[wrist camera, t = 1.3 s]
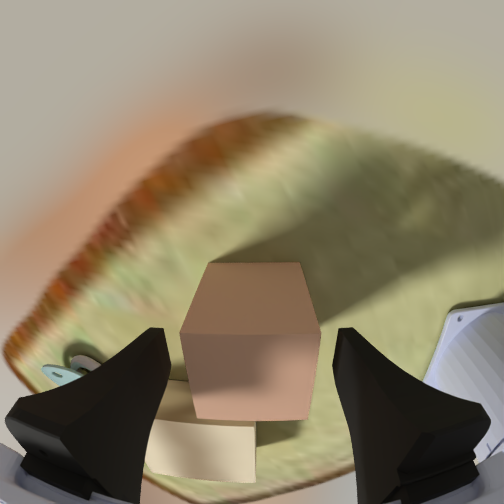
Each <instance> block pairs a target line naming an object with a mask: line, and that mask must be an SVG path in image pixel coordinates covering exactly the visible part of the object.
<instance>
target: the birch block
mask: <svg viewBox="0 0 504 504" xmlns="http://www.w3.org/2000/svg"><path fill="white" fill-rule="evenodd" d="M145 462H146V463H147V465H148V467H149V468H150V470H151V472H152V473H158V474H163V475H169V476H176V477H183V478H191V479H199V480H209V481H222V482H243V483H256V421H235V420H214V419H200V418H197V416H196V411H195V407H194V403H193V398H192V394H191V389H190V385H189V381H177V380H168V383H167V387H166V389H165V392H164V395H163V398H162V400H161V403H160V406H159V408H158V411H157V414H156V417H155V419H154V422H153V425H152V428H151V432H150V436H149V440H148V445H147V450H146V456H145Z"/></svg>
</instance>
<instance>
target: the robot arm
mask: <svg viewBox="0 0 504 504" xmlns="http://www.w3.org/2000/svg"><path fill="white" fill-rule="evenodd" d="M459 316H460V317H459ZM458 317H459V318H458ZM332 367H333V374H334V379H335V385H336V388H337V392H338V395H339V398H340V401H341V405H342V408H343V411H344V414H345V417H346V421H347V424H348V427H349V431H350V436H351V442H352V448H353V455H354V463H355V471H356V482H357V497H358V504H504V302H503V303H497V304H490V305H484V306H477V307H470V308H463V309H455V310H452V311H451V312H449V314H448V315H447V318H446V321H445V324H444V327H443V330H442V333H441V336H440V339H439V342H438V344H437V347H436V350H435V352H434V355H433V358H432V360H431V363H430V365H429V368H428V370H427V373H426V375H425V377H424V380H423V382H422V381H420V380H418V379H416V378H415V377H413V376H412V375H410V374H408V373H407V372H405V371H404V370H402V369H401V368H399V367H398V366H397V365H395V364H394V363H393V362H392V361H390V360H389V359H388V358H386V357H385V356H384V355H383V354H382V353H380V352H379V351H378V350H377V349H376V348H375V347H374V346H373V345H371V344H370V343H369V342H368V341H367V340H366V339H365V338H364V337H363V336H362V335H361V334H359V333H358V332H357V331H356V330H355V329H354V328H353V327H351V328H339V329H338V335H337V341H336V347H335V353H334V358H333V364H332ZM170 369H171V361H170V356H169V352H168V347H167V343H166V338H165V333H164V328H151V327H150V328H149V329H147V330H146V331H145V332H143V333H142V334H141V335H140V336H139V337H137V338H136V339H135V340H134V341H132V342H131V343H130V344H129V345H128V346H126V347H125V348H124V349H123V350H121V351H120V352H119V353H117V354H116V355H115V356H113V357H112V358H110V359H109V360H108V361H106V362H105V363H104V364H102V365H101V366H99V367H97V368H96V369H94V370H93V371H91V372H89V373H87V374H86V375H84V376H82V377H80V378H78V379H76V380H73V381H71V382H69V383H67V384H65V385H62V386H60V387H57V388H55V389H52V390H49V391H45V392H42V393H38V394H34V395H30V396H26V397H21V398H19V399H18V400H17V402H16V403H15V404H14V406H13V407H12V409H11V410H10V411H9V413H8V414H7V416H6V417H5V423H6V426H7V428H8V429H9V431H10V432H11V434H12V435H13V436H14V437H15V439H16V440H17V441H18V442H19V444H20V445H21V446H22V447H23V448H24V449H25V451H26V452H27V453H26V455H25V457H23V456H22V455H21V454H19V453H18V452H16V451H14V450H12V449H11V448H9V447H7V446H5V445H4V444H1V443H0V503H1V504H140V493H141V483H142V475H143V467H144V461H145V456H146V450H147V445H148V440H149V436H150V432H151V428H152V425H153V422H154V419H155V417H156V414H157V411H158V408H159V406H160V403H161V400H162V398H163V395H164V392H165V389H166V387H167V383H168V379H169V374H170ZM476 457H477V460H478V462H479V464H478V465H476V466H475V463H474V461H473V460H474V459H475V458H476Z"/></svg>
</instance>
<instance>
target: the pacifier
mask: <svg viewBox="0 0 504 504" xmlns="http://www.w3.org/2000/svg"><path fill="white" fill-rule="evenodd" d="M99 366H101V364H99V363H98V362H96V361H95V360H93V359H92V358H89V357H87V356H83V355H77V356H74V357H73V358H72V360H71V367H70V368H71V369H69V368H66V367H63V366H58V365H51V364H47V365H44V366H43V367H42V368H41V370H42V372H43V373H44V374H45V375H46V376H47V377H48V378H50V379H51V380H52V381H54V382H55V383H56V384H58V385H59V386H62V385H65V384H67V383H69V382H71V381H73V380H76V379H78V378H80V377H82V376H84V375H86V374H87V372H86V371H84V370H83V369H81V368H80V367H82V368H86V369H88V370H90V371H93V370H94V369H96V368H97V367H99ZM55 372H57V373H59V374H61V375H59V374H57V373H55Z"/></svg>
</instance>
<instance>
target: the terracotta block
mask: <svg viewBox="0 0 504 504" xmlns="http://www.w3.org/2000/svg"><path fill="white" fill-rule="evenodd" d="M180 339H181V344H182V350H183V355H184V360H185V365H186V370H187V375H188V380H189V385H190V389H191V394H192V398H193V403H194V407H195V411H196V416H197V418H200V419H214V420H235V421H285V420H306V419H308V415H309V409H310V404H311V398H312V392H313V386H314V380H315V374H316V367H317V361H318V354H319V347H320V339H321V331H320V327H319V324H318V320H317V317H316V314H315V310H314V307H313V304H312V300H311V297H310V294H309V290H308V287H307V284H306V281H305V277H304V274H303V271H302V268H301V265H300V262H266V263H208V265H207V267H206V269H205V272H204V274H203V277H202V279H201V281H200V284H199V286H198V288H197V291H196V293H195V296H194V298H193V301H192V303H191V305H190V308H189V310H188V313H187V315H186V318H185V320H184V323H183V325H182V328H181V330H180Z"/></svg>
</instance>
